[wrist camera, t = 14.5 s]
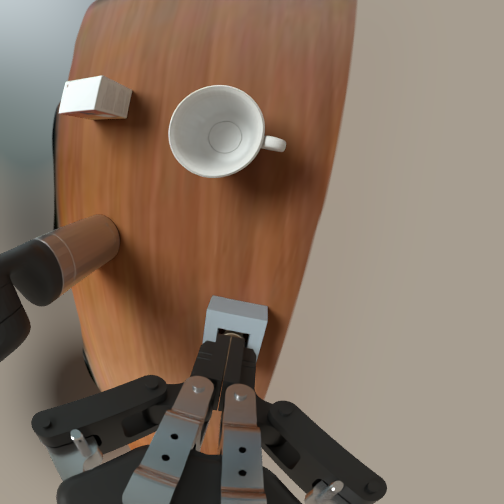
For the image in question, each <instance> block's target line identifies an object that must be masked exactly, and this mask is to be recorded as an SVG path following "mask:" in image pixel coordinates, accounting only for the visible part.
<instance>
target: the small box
mask: <svg viewBox="0 0 504 504" xmlns="http://www.w3.org/2000/svg"><path fill="white" fill-rule="evenodd" d="M131 94H132V90H131V89H129V88H127V87H125V86H123V85H121V84H119V83H117V82H115V81H113V80H111V79H109V78H107V77H105V76H103V75H102V76H97V77H91V78H85V79H79V80H74V81H67V82H66V83H65V87H64V91H63V95H62V100H61V104H60V109H59V114H63V115H69V116H75V117H80V118H85V119H91V120H97V119H126V118H127V113H128V108H129V103H130V99H131Z"/></svg>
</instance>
